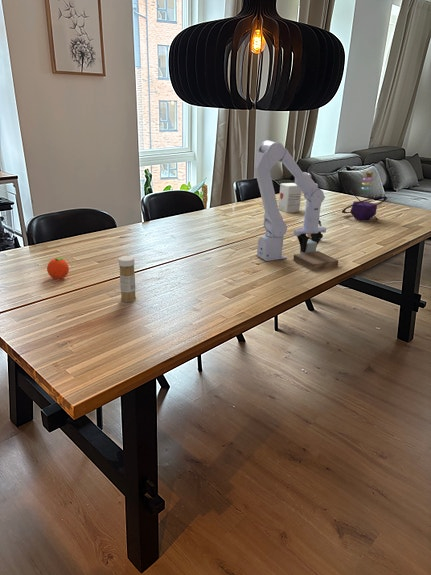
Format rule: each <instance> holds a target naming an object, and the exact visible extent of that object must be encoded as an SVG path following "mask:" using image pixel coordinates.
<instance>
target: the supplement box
mask: <svg viewBox="0 0 431 575" xmlns="http://www.w3.org/2000/svg"><path fill="white" fill-rule="evenodd" d="M301 197H302V191H301V190H300V189H299V187H298V186H297V185H296V184H295V182H284V183H280V186H279V197H278V210H279V211H281V212H283V211H284V212H283V213H286V214H288V213H290V214H291V213H298V212H300V206H301Z"/></svg>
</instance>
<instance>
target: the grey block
mask: <svg viewBox="0 0 431 575" xmlns="http://www.w3.org/2000/svg"><path fill="white" fill-rule="evenodd" d="M317 247H318V245H317V242H314V241H312V240H311V239H308V241H307V245H306V251H305V252H304V253H309V252H316V251H317ZM302 253H303V252H301V249H300V248H299V254H302Z"/></svg>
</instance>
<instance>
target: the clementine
mask: <svg viewBox="0 0 431 575" xmlns="http://www.w3.org/2000/svg"><path fill="white" fill-rule="evenodd" d="M66 260H67V261H66ZM46 270H47V273H48V275H49V277H50V278H52V279H54V280H61V279H64V278H65V277H67V275H68V274H69V270H70V267H69V264H68V259H67V258H64V257H58V258H54V259H51V260H50V261H49V262H48V263H47V266H46Z"/></svg>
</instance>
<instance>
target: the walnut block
mask: <svg viewBox="0 0 431 575" xmlns="http://www.w3.org/2000/svg"><path fill="white" fill-rule="evenodd" d="M292 261H293V262H295V263H296V264H298V265H300V266H302V267H304V268H306V269H308V270H310V271H312V272H313V271H321V270H326V269H333V268H337V267H338V266H339V262H340V261H339V260H338V259H337V258H334V257H333V256H331V255H328V254H326V253H324V252H322V251H319V250H316V252H309V253H302V254H300V253H297V254H293V259H292Z"/></svg>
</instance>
